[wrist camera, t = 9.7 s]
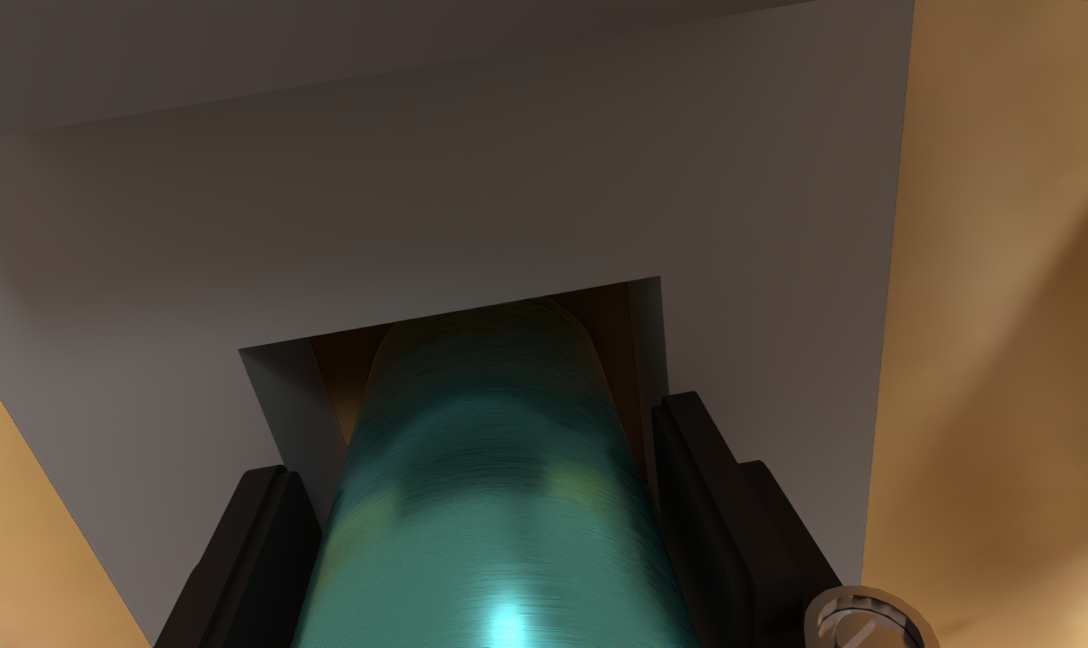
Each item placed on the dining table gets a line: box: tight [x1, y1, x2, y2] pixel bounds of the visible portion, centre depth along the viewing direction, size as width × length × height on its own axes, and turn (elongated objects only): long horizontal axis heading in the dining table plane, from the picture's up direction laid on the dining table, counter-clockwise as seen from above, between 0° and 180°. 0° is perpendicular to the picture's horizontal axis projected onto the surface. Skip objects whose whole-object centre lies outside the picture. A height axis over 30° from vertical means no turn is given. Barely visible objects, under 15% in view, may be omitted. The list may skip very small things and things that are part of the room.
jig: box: [0, 0, 914, 648], centre depth 11 cm, size 22×14×6 cm, turn 9°
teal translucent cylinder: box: [290, 295, 702, 648], centre depth 10 cm, size 5×5×9 cm
